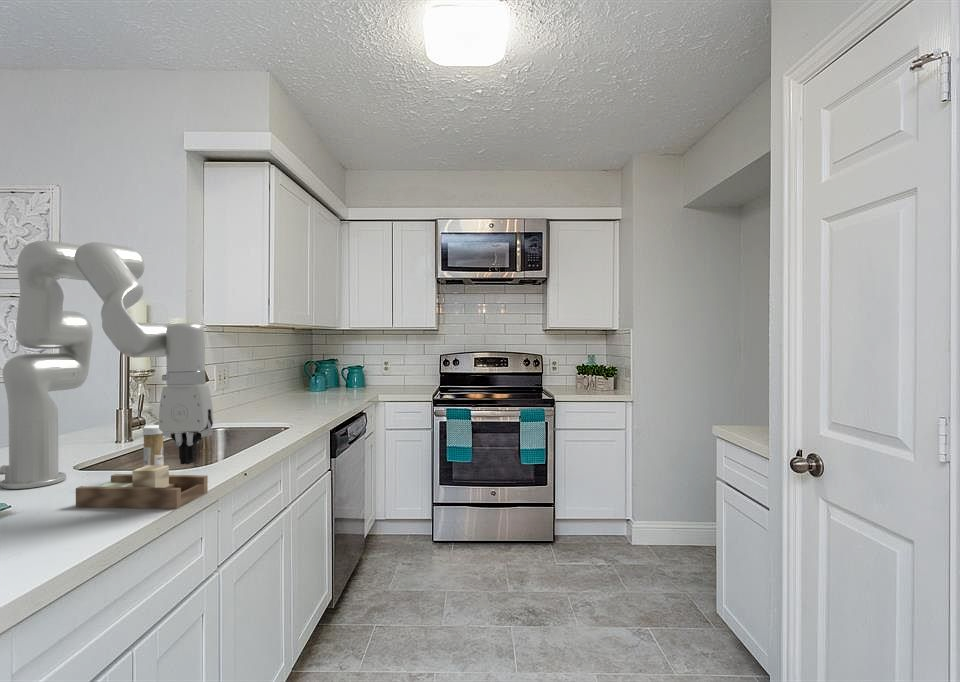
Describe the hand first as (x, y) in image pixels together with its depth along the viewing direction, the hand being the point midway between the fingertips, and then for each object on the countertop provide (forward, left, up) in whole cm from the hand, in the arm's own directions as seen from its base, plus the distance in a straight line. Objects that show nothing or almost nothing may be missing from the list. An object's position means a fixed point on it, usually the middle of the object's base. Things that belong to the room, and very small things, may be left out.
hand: (188, 462), depth 123 cm
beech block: (-9, 0, -6) cm, 10 cm away
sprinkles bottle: (-19, +17, -9) cm, 27 cm away
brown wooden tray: (-10, 0, -8) cm, 13 cm away
